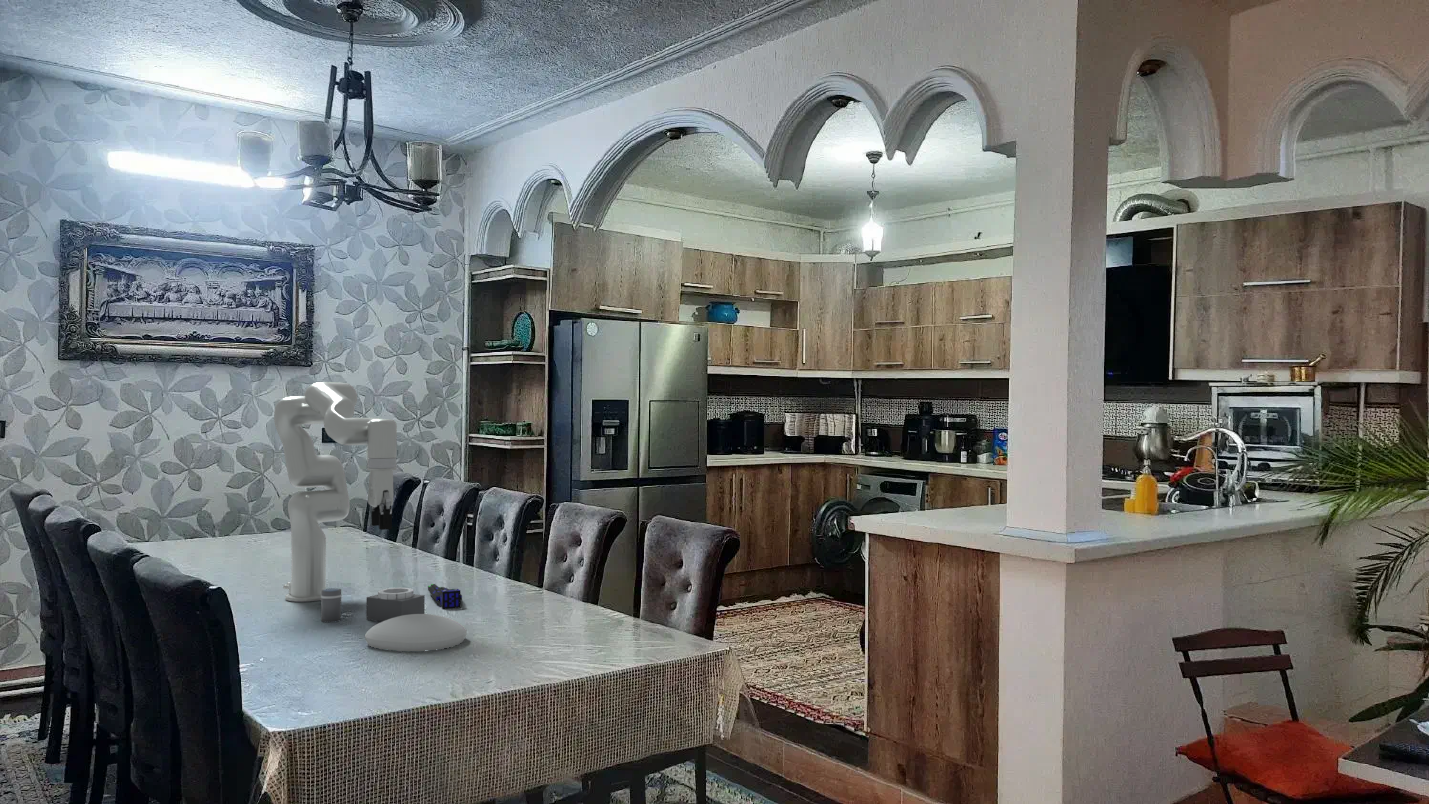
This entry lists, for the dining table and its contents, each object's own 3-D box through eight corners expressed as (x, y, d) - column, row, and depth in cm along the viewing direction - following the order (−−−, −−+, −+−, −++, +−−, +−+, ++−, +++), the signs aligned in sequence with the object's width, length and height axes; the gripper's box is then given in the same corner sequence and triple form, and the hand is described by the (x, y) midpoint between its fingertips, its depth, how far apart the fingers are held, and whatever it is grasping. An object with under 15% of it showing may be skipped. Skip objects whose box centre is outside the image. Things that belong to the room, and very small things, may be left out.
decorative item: (434, 657, 234) (481, 638, 253) (434, 627, 234) (481, 610, 253) (350, 648, 242) (402, 630, 261) (350, 619, 242) (402, 604, 261)
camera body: (366, 619, 272) (366, 591, 272) (390, 613, 280) (390, 586, 280) (401, 624, 267) (401, 595, 267) (424, 617, 275) (424, 589, 275)
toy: (424, 598, 313) (438, 609, 286) (424, 581, 313) (438, 591, 286) (452, 596, 316) (468, 607, 289) (452, 580, 317) (468, 589, 289)
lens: (316, 620, 270) (316, 590, 270) (331, 617, 274) (331, 587, 274) (331, 622, 268) (331, 592, 268) (345, 619, 272) (345, 588, 272)
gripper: (361, 463, 281) (360, 524, 281) (374, 466, 266) (373, 531, 266) (388, 462, 285) (388, 523, 285) (403, 465, 270) (403, 530, 270)
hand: (381, 527), depth 276 cm, fingers open, 9 cm apart
